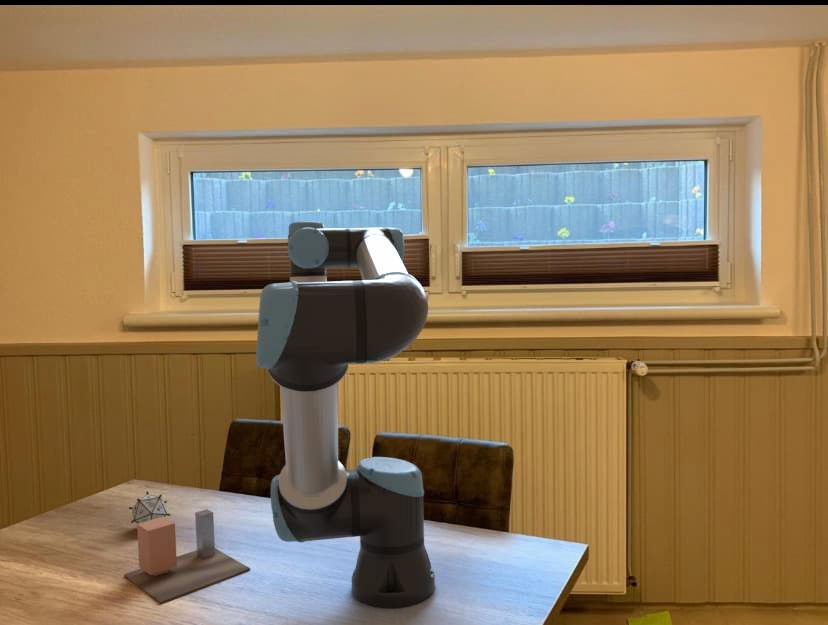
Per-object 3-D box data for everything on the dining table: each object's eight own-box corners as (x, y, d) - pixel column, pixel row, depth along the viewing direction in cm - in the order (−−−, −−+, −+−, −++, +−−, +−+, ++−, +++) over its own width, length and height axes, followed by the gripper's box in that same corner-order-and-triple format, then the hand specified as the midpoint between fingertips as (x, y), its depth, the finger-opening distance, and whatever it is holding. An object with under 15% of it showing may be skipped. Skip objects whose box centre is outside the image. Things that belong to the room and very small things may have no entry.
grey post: (215, 555, 138) (213, 512, 138) (203, 559, 137) (201, 515, 136) (209, 551, 140) (206, 509, 140) (197, 555, 138) (195, 512, 138)
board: (250, 570, 132) (250, 568, 132) (160, 604, 119) (160, 601, 119) (210, 547, 143) (210, 545, 143) (124, 576, 131) (124, 574, 131)
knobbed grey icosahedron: (160, 542, 156) (184, 508, 155) (129, 542, 149) (154, 506, 148) (145, 515, 161) (168, 482, 160) (113, 514, 154) (138, 479, 153)
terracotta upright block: (176, 566, 131) (174, 523, 131) (150, 575, 128) (148, 530, 127) (165, 558, 135) (163, 516, 134) (139, 567, 131) (136, 523, 131)
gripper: (344, 296, 138) (347, 410, 140) (303, 296, 147) (307, 403, 148) (315, 298, 133) (319, 417, 134) (275, 297, 141) (279, 409, 143)
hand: (313, 410), depth 141 cm, fingers closed
